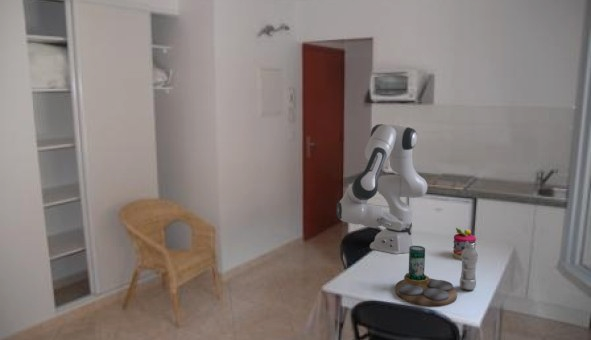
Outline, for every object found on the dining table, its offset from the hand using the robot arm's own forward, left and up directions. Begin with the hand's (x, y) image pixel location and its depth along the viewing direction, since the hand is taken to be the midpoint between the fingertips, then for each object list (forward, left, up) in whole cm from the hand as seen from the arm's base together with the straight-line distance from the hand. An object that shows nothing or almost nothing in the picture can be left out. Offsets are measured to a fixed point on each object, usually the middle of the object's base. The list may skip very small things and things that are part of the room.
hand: (405, 223), depth 199 cm
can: (+6, -2, -24) cm, 25 cm away
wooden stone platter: (+11, -7, -26) cm, 29 cm away
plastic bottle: (+25, +5, -27) cm, 37 cm away
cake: (+19, +45, -27) cm, 55 cm away
